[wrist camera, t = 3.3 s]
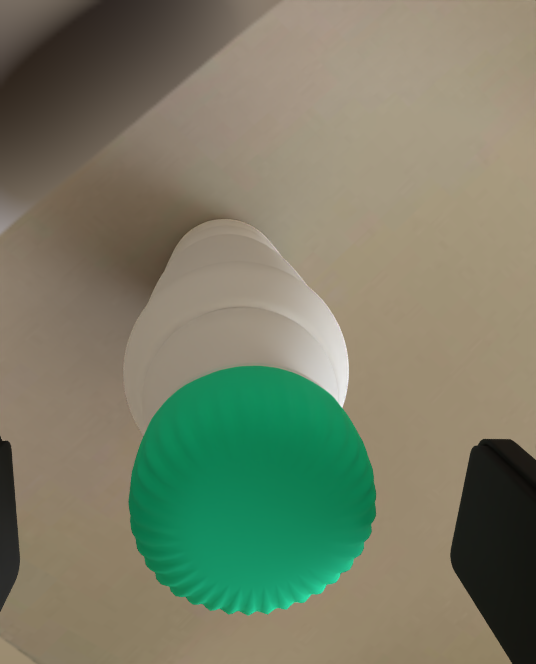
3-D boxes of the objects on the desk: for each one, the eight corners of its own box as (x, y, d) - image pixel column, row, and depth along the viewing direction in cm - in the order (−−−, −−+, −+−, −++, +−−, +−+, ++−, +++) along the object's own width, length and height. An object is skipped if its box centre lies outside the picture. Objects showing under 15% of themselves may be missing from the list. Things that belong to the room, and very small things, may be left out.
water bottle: (274, 212, 32) (457, 314, 8) (283, 319, 34) (448, 651, 10) (161, 223, 31) (1, 367, 8) (177, 331, 33) (92, 710, 10)
